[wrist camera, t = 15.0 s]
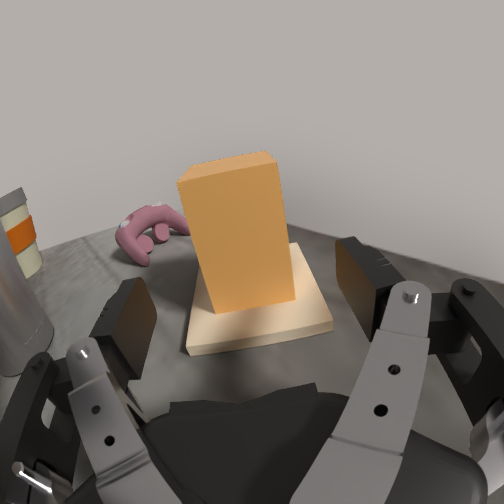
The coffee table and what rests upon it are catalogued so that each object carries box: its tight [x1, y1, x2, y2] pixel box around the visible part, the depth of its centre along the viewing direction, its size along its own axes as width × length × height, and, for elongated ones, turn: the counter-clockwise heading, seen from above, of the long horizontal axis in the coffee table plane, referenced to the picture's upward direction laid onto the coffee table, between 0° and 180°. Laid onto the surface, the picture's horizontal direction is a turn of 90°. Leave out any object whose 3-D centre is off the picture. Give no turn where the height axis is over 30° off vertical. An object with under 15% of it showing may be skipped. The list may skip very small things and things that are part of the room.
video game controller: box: [115, 202, 191, 266], centre depth 35 cm, size 10×5×7 cm, turn 151°
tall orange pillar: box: [177, 151, 296, 314], centre depth 21 cm, size 6×6×10 cm
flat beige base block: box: [186, 242, 333, 356], centre depth 22 cm, size 10×12×6 cm
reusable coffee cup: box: [0, 187, 42, 279], centre depth 36 cm, size 13×13×15 cm
